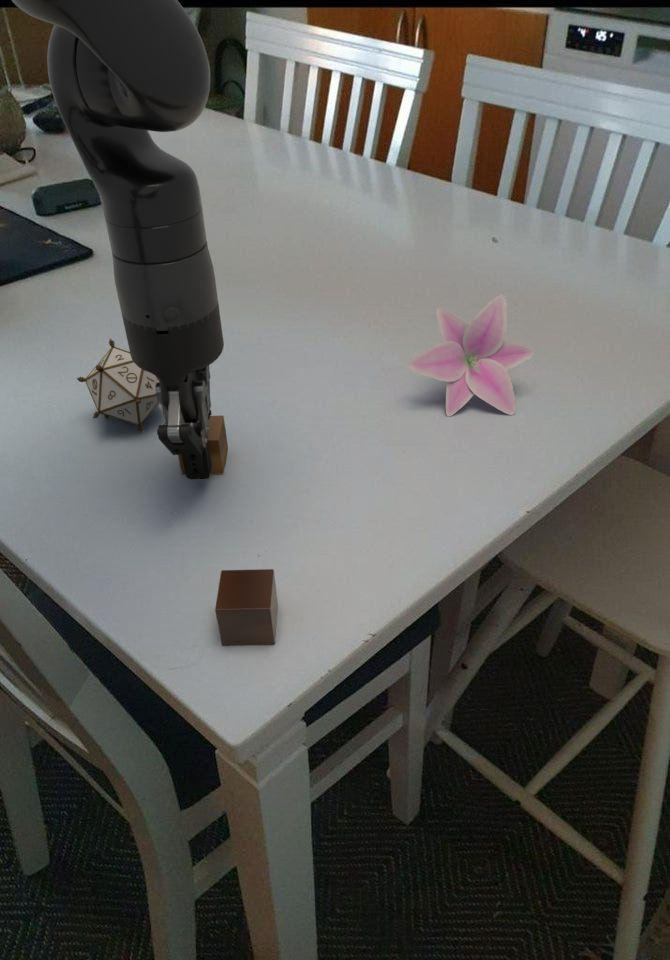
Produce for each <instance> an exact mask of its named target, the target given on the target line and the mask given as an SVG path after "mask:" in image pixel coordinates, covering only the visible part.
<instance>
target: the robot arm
mask: <svg viewBox="0 0 670 960" xmlns="http://www.w3.org/2000/svg"><path fill="white" fill-rule="evenodd" d="M11 1H12V3H13V4H14V5H15V6H16V7H18V8H19V9H20V10H21V11H22V12H24V13H26V14H27V15H28V16H31V18H35V19H37V20H40V21H42V22H44V23H48V24H51V25H53V27H52V29H51V33H50V36H49V39H48V44H47V56H46V58H47V59H46V60H47V75H48V80H49V85H50V90H51V94H52V96H53V100H54V103H55V105H56V108H57V110H58V112H59V115H60V117H61V119H62V121H63V124H64V125H65V128H66V130H67V132H68V134H69V136H70V138H71V141H72V143H73V145H74V147H75V149H76V151H77V153H78V155H79V157H80V160H81V161H82V164H83V166H84V169H85V170H86V173H87V174H88V176H89V178H90V180H91V182H92V183H93V185H94V187H95V190H96V191H97V193H98V195H99V197H100V202H101V206H102V211H103V212H102V213H103V216H104V221H105V225H106V231H107V234H108V239H109V245H110V249H111V255H112V264H113V277H114V285H115V289H116V293H117V298H118V304H119V308H120V313H121V317H122V321H123V326H124V331H125V335H126V341H127V346H128V349H129V352H130V355H131V358H132V360H133V362H134V363H135V364H136V365H137V366H138V367H139V368H141V369H143V370H145V371H147V372H150V373H152V374H154V375H155V376H157V377H158V378H159V379H160V382H156V385H155V391H156V396H157V400H158V402H159V405H161V409H162V413H163V418H164V422H163V423H162V424H158V426H157V429H156V434H157V436H158V440H159V441H160V442H161V443H162V444H163V446H164V447H165V448H166V449H167V450H168V451H169V452H170V454H171V455H173V456H178V455H179V454H182V459H183V464H184V470H185V475H184V476H185V478H186V479H188V480H191V481H192V480H193V481H194V480H208V479H209V478H210V477H211V474H210V473H211V468H212V463H211V457H210V451H209V445H208V438H207V437H208V435H209V432H210V428H209V427H208V419H210V416H212V410H211V408H212V401H211V400H212V399H211V382H210V381H211V371H210V365H212V364H213V363H215V362H216V361H217V360H218V359H219V357H220V356H221V355H222V353H223V350H224V345H225V341H224V337H223V336H224V335H223V327H222V320H221V313H220V311H221V310H220V306H219V305H220V304H219V297H218V291H217V281H216V274H215V268H214V264H213V260H212V257H211V253H210V249H209V246H208V245H209V244H208V240H207V232H206V225H205V217H204V211H203V205H202V204H203V202H202V197H201V191H200V185H199V182H198V178H197V175H196V173H195V171H194V169H193V168H192V167H191V166H190V165H189V164H188V163H186V162H184V161H183V160H181V159H180V158H177V157H175V156H174V155H172V154H170V153H168V152H166V151H165V150H163V149H162V148H161V147H159V146H158V145H157V143H155V141H154V140H153V137H152V136H151V134H150V132H157V133H170V132H178V131H180V130H184V129H186V128H187V127H190V126H191V125H192V124H194V122H196V120H197V119H199V117H200V116H201V115H202V113H203V111H204V110H205V108H206V105H207V103H208V99H209V95H210V91H211V67H210V62H209V57H208V53H207V50H206V47H205V44H204V41H203V39H202V37H201V35H200V33H199V30H198V28H197V26H196V24H195V23H194V21H193V19H192V18H191V16H190V15H189V13H188V12H187V11H186V9H185V8H184V7H183V6H182V4H181V3H180V2H179V0H11Z"/></svg>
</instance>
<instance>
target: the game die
mask: <svg viewBox="0 0 670 960" xmlns="http://www.w3.org/2000/svg"><path fill="white" fill-rule="evenodd" d="M108 344H109V346H110V349H109V350H108V351H107V352H106V354H105V355H104V356H103V357H102V358H101V359H100V361H98V363H97V364H96V365H95V366H94V368H93V369H92V370H91V371H90V373H89V374H88V375H87V376H86V377H84V376H79V377H77V378H76V380H77V381H78V382H79V383H84V382H85V384H86V386H87V387H86V388H87V389H88V391H89V394H90V396H91V398H92V401H93V403H94V406H95V408H96V410H97V411H95V412H94V413H93V414H92V415H93V416H92V419H97V418H99V417H100V416H101V415H102V416H103V417H104V419H110V418H112V419H115V420H119V421H122V422H125V423H128V424H132V425H135V426H137V430H138V432H140V433H141V434H143V433H144V427H143V423H144V422H145V421H146V420H147V418H148V417H149V416H150V415H151V413H153V411H154V410H155V409H156V408H157V407H158V405H160V403H159V402H158V400H157V396H156V391H155V385H156V382H160V379H159V378H158V377H157V376H155V375H154V374H152V373H150V372H147V371H145V370H143V369H141V368H139V367H138V366H137V365H136V364H135V363H134V362H133V360H132V358H131V355H130V350H129V351H128V350H126V349H123V348H120V347H118V346H117V347H116V345H115V344H116V343H115V340H112V338H109V340H108Z"/></svg>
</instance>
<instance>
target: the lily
mask: <svg viewBox="0 0 670 960" xmlns="http://www.w3.org/2000/svg"><path fill="white" fill-rule="evenodd" d="M435 311H436V318H437V323H438V329H439V332H440V336H441V339H442V342H439V343H437V344H435V345H433V346H431V347H429V348H427V349H426V350H424V351H422V352H420V353H419V354H417V355H415V356H414V357H412V359H410V360H409V361H408V362H407V363H406V368H407V369H408V370H409V371H411V372H413V373H416V374H419V375H421V376H424V377H427V378H430V379H434V380H437V381H441V382H445V383H446V390H445V414H446V416H447V417H451V416H453V415H454V414H456V413H457V412H458V411H459V410H461V408H463V407H464V406H465V405H466V404H467V403H468V402H469V401H470V400H471V399H472V397H474V395H475V396H477V398H479V399H480V400H482V401H484V402H485V403H487V404H488V405H490V406H492V407H493V408H495V409H497V410H499V411H500V412H502V413H504V414H506V415H509V416H515V414H516V412H517V409H516V408H517V404H516V398H515V392H514V387H513V384H512V379H511V376H510V374H509V372H508V371H509V370H511V369H514V368H515V367H517V366H519V365H521V364H522V363H524V362H526V361H527V360H529V359H530V358H532V357H533V356H534V354H535V351H534V350H533V349H531V347H527V346H525V345H522V344H520V343H515V342H513V341H507V340H505V338H506V334H507V328H508V327H507V326H508V303H507V297H506V296H505V295H504V294H498V295H497V296H495V297H494V298H493V299H491V300H490V301H489V302H488V303H487V304H486V305H485V306H483V308H482V309H480V310H479V312H478V313H477V314H476V315H474V316H473V317H472V319H471V320H470V321H469V322H468V323H467V322H466V321H464V320H463V319H462V318H461V317H459V316H457V315H456V314H455V313H453V312H451V311H449V310H447V309H446V308H443V307H436V310H435Z"/></svg>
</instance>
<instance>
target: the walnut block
mask: <svg viewBox="0 0 670 960" xmlns="http://www.w3.org/2000/svg"><path fill="white" fill-rule="evenodd" d="M219 576H220V577H219V582H218V590H217V596H216V602H215V608H214V611H215V617H216V622H217V628H218V632H219V637H220V643H221V645H222V646H254V645H255V646H258V645H259V646H260V645H275V644H276V634H277V622H278V621H277V620H278V607H279V604H278V603H279V602H278V595H277V593H278V592H277V586H276V585H277V584H276V577H275V570H274V569H273V568H271V569H269V568H268V569H267V568H265V569H222V570H220V575H219Z"/></svg>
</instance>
